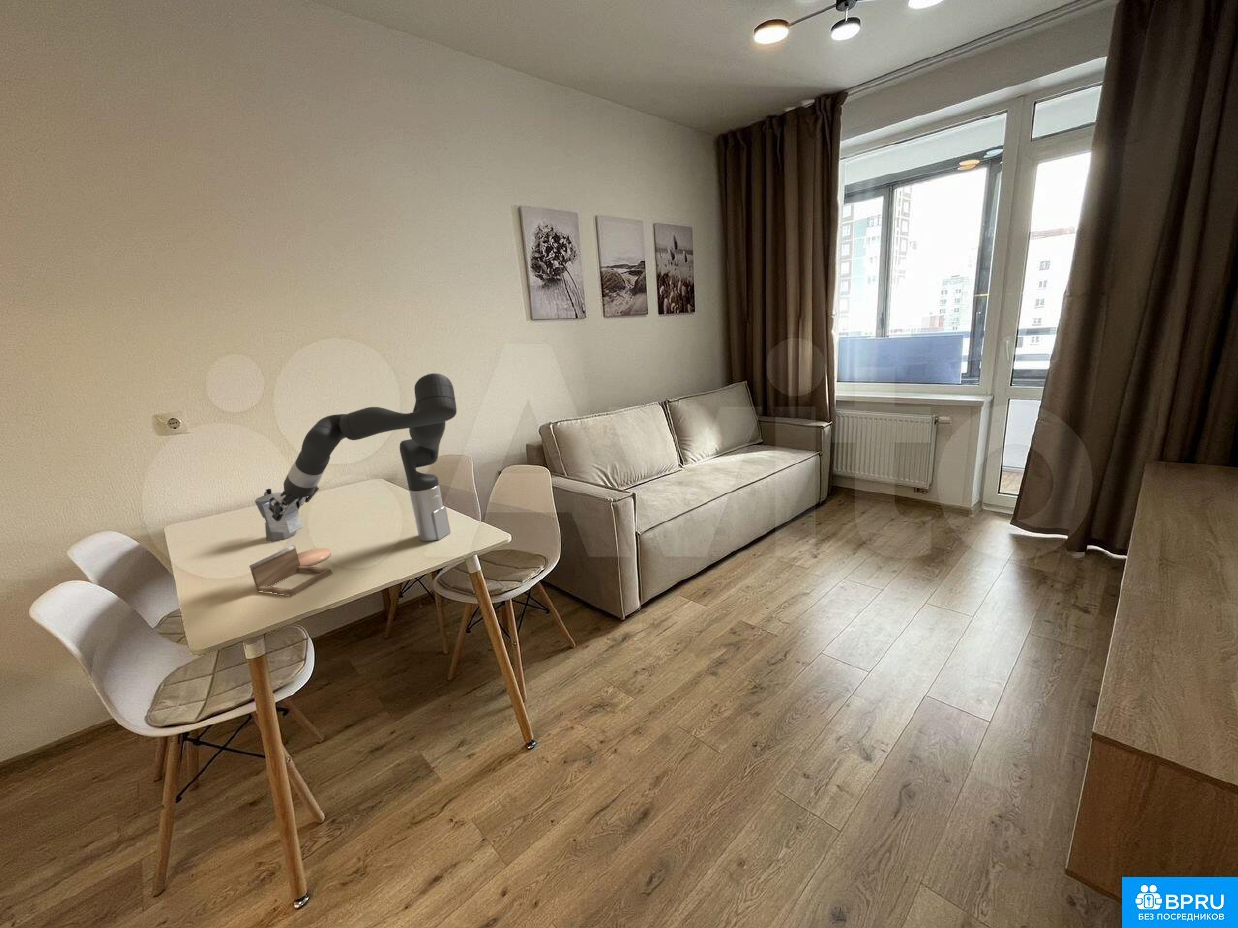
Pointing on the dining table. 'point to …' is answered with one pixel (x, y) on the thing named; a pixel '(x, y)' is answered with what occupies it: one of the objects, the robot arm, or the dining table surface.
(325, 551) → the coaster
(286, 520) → the medicine box
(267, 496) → the coffeepot
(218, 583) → the dining table surface
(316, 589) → the dining table surface
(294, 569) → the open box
